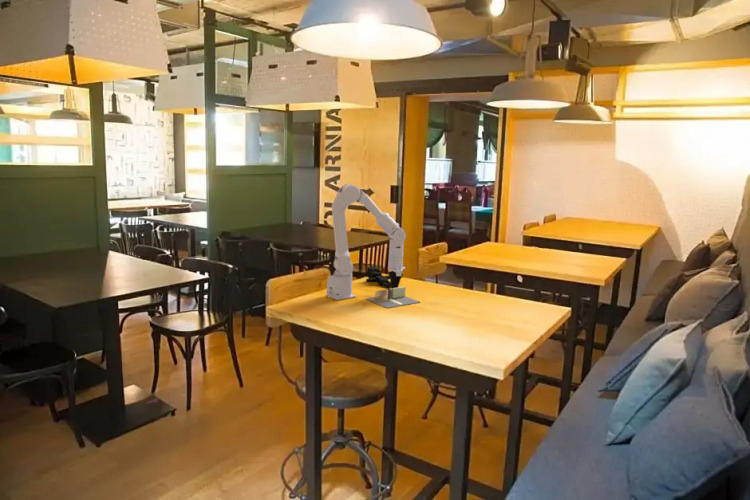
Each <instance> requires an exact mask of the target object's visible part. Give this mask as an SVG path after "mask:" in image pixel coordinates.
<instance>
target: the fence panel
mask: <svg viewBox="0 0 750 500" xmlns="http://www.w3.org/2000/svg"><path fill="white" fill-rule="evenodd" d="M406 289H407V287H406V286H398V287H397V288H391V291H390V297H391V298H398V297H404V296H406Z"/></svg>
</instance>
